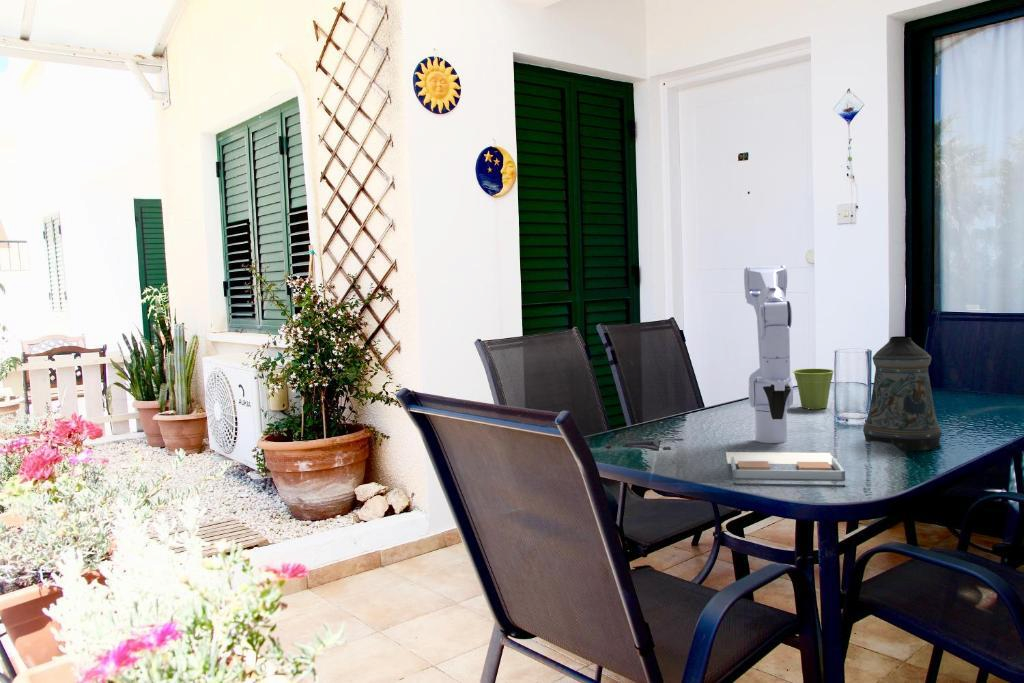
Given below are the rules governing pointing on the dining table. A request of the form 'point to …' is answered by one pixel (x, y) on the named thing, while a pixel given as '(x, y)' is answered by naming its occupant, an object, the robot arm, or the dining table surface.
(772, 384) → the robot arm
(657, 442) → the bracket
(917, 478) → the dining table surface
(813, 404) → the plant pot
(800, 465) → the terracotta tile
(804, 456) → the cream plate
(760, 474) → the tray
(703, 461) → the dining table surface
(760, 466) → the terracotta tile
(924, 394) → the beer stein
